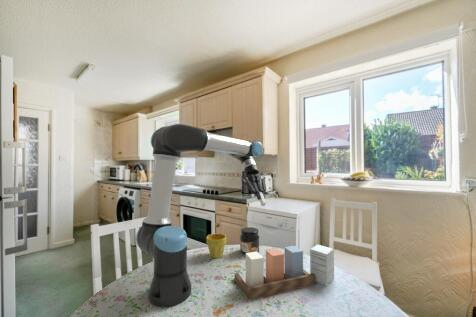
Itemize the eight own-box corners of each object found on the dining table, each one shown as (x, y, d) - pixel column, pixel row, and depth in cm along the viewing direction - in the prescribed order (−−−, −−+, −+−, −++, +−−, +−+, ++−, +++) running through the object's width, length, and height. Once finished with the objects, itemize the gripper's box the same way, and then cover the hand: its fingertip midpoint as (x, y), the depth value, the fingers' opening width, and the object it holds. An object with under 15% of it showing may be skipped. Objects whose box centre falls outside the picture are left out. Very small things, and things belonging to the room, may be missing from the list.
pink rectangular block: (272, 287, 84) (272, 256, 84) (265, 279, 90) (265, 250, 90) (284, 284, 86) (284, 254, 86) (276, 277, 91) (276, 248, 92)
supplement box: (317, 272, 96) (317, 243, 96) (334, 279, 90) (334, 248, 91) (309, 279, 91) (309, 248, 91) (327, 286, 85) (327, 254, 85)
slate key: (292, 282, 87) (292, 252, 87) (284, 275, 93) (284, 247, 93) (303, 280, 89) (303, 251, 89) (294, 273, 95) (294, 245, 95)
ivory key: (251, 291, 81) (251, 259, 81) (245, 283, 87) (245, 253, 87) (263, 289, 83) (263, 257, 83) (256, 281, 88) (256, 251, 88)
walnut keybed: (248, 300, 76) (248, 289, 76) (234, 279, 90) (234, 269, 90) (315, 284, 86) (315, 274, 86) (294, 267, 100) (294, 259, 100)
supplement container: (242, 257, 111) (242, 233, 111) (237, 249, 121) (237, 227, 121) (262, 255, 113) (262, 232, 114) (255, 247, 124) (255, 226, 124)
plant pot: (202, 256, 112) (202, 237, 112) (215, 249, 120) (215, 232, 120) (217, 261, 106) (217, 241, 106) (230, 254, 114) (230, 235, 114)
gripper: (258, 173, 127) (273, 207, 111) (237, 173, 122) (249, 209, 106) (263, 164, 122) (278, 199, 106) (241, 164, 117) (253, 200, 101)
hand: (263, 204), depth 106 cm, fingers closed
